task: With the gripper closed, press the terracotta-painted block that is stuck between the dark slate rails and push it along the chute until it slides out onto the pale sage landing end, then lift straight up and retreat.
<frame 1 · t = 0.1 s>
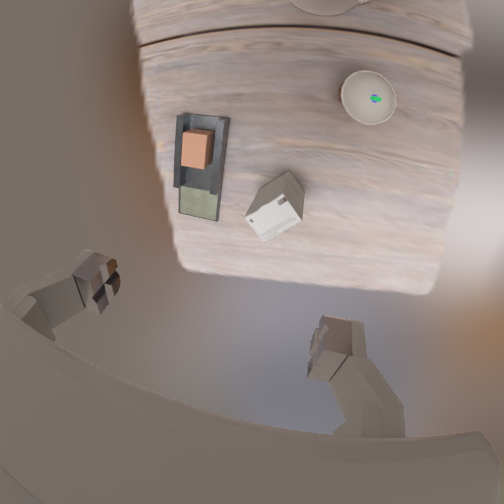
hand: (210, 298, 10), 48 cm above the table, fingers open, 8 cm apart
block: (197, 148, 52), point 3 cm above the table, slide at 0.0 cm
smoothie: (355, 95, 43), on the table
skincare box: (282, 188, 57), on the table
chute: (201, 168, 58), on the table
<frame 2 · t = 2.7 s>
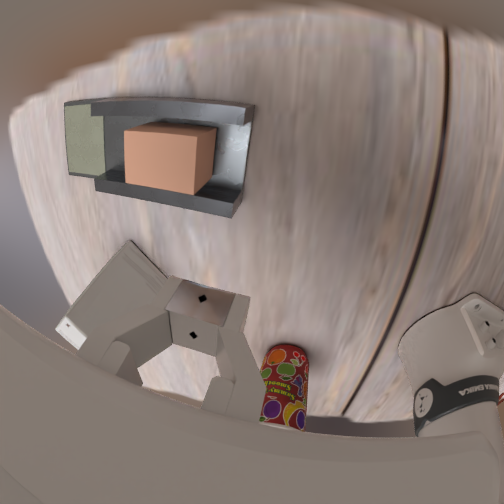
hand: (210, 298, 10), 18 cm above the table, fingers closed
block: (169, 154, 23), point 3 cm above the table, slide at 0.0 cm
smoothie: (287, 353, 41), on the table
skincare box: (142, 267, 37), on the table
chute: (139, 141, 26), on the table
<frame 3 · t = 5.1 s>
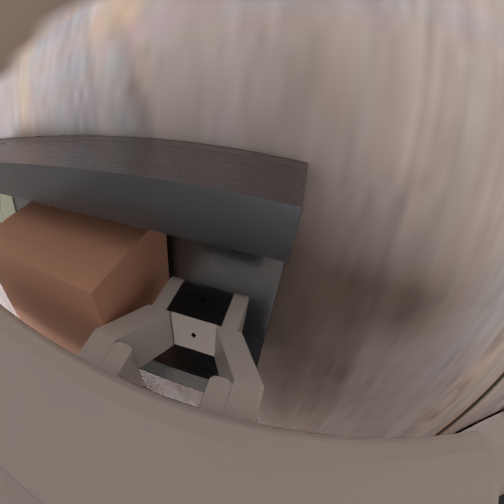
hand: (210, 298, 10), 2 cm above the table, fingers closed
block: (75, 276, 10), point 3 cm above the table, slide at 1.6 cm, touching gripper
chute: (64, 222, 13), on the table
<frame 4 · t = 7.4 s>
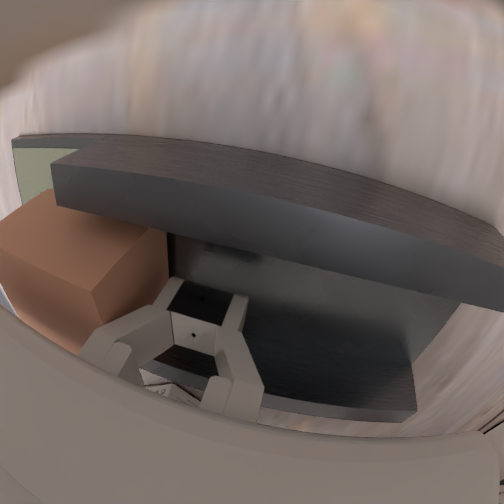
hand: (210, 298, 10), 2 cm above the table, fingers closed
block: (74, 275, 10), point 3 cm above the table, slide at 10.0 cm, touching gripper
skincare box: (191, 404, 23), on the table
chute: (198, 257, 12), on the table
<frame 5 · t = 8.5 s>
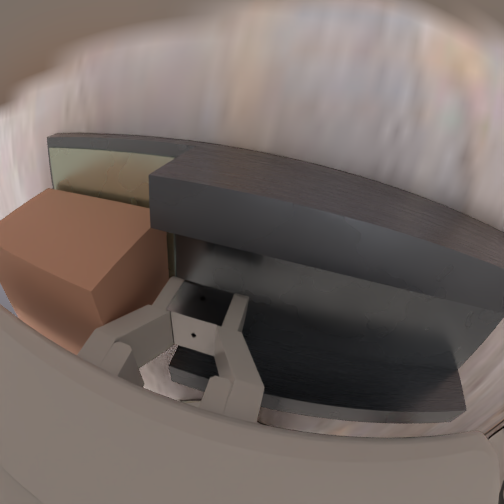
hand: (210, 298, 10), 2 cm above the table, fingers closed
block: (74, 275, 10), point 3 cm above the table, slide at 13.9 cm, touching gripper
chute: (287, 279, 12), on the table
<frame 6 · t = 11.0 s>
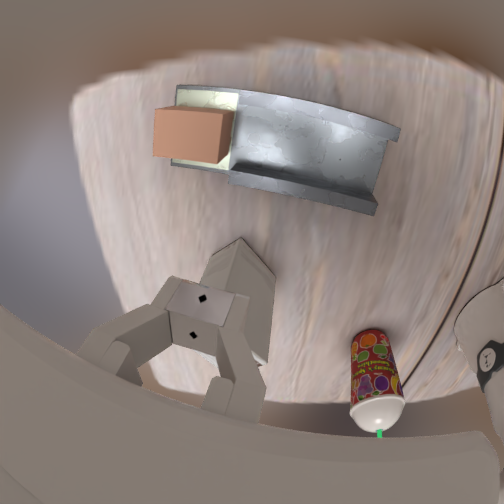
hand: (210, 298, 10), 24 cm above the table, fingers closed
block: (193, 132, 26), point 3 cm above the table, slide at 13.9 cm
smoothie: (369, 339, 43), on the table
skincare box: (245, 266, 39), on the table
chute: (276, 138, 29), on the table
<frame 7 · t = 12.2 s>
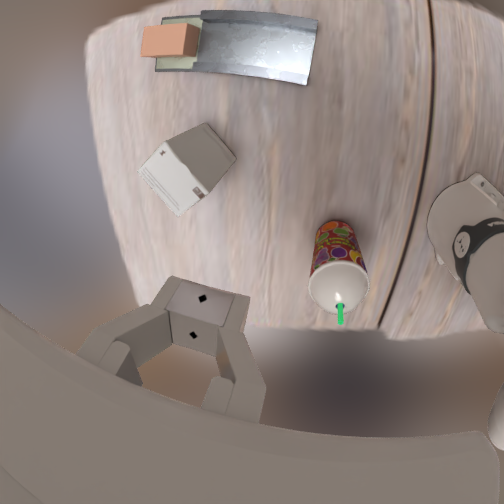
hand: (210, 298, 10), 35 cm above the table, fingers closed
block: (169, 41, 30), point 3 cm above the table, slide at 13.9 cm
smoothie: (335, 234, 46), on the table
skincare box: (211, 150, 42), on the table
chute: (230, 44, 32), on the table
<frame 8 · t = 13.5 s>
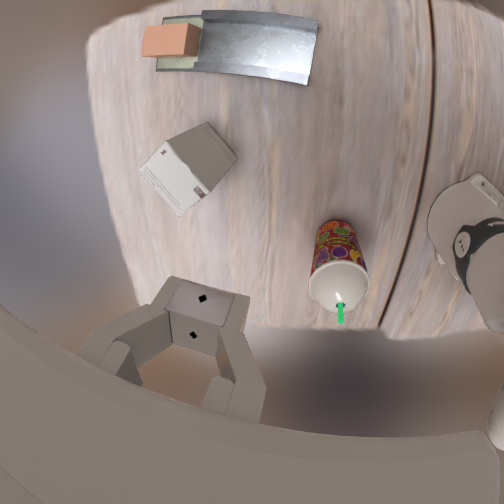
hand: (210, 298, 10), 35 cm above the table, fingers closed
block: (170, 41, 30), point 3 cm above the table, slide at 13.9 cm
smoothie: (335, 234, 46), on the table
skincare box: (211, 150, 43), on the table
chute: (231, 43, 32), on the table
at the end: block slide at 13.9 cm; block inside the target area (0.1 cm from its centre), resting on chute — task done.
